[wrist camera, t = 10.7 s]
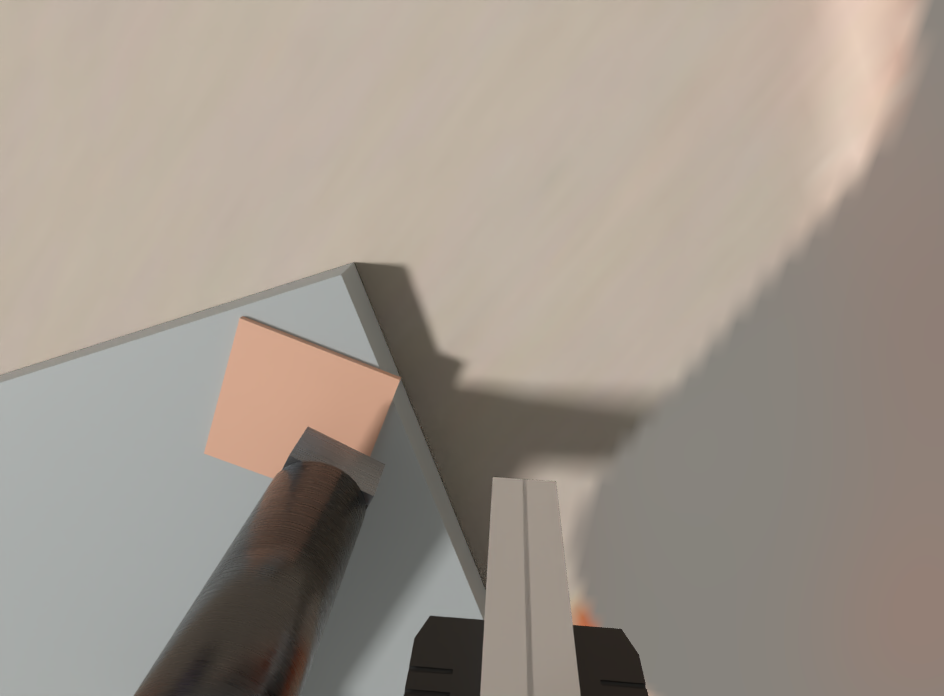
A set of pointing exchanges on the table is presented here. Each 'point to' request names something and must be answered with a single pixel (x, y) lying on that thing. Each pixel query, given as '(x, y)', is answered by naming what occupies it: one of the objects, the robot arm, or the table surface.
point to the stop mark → (293, 399)
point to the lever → (273, 581)
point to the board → (198, 505)
